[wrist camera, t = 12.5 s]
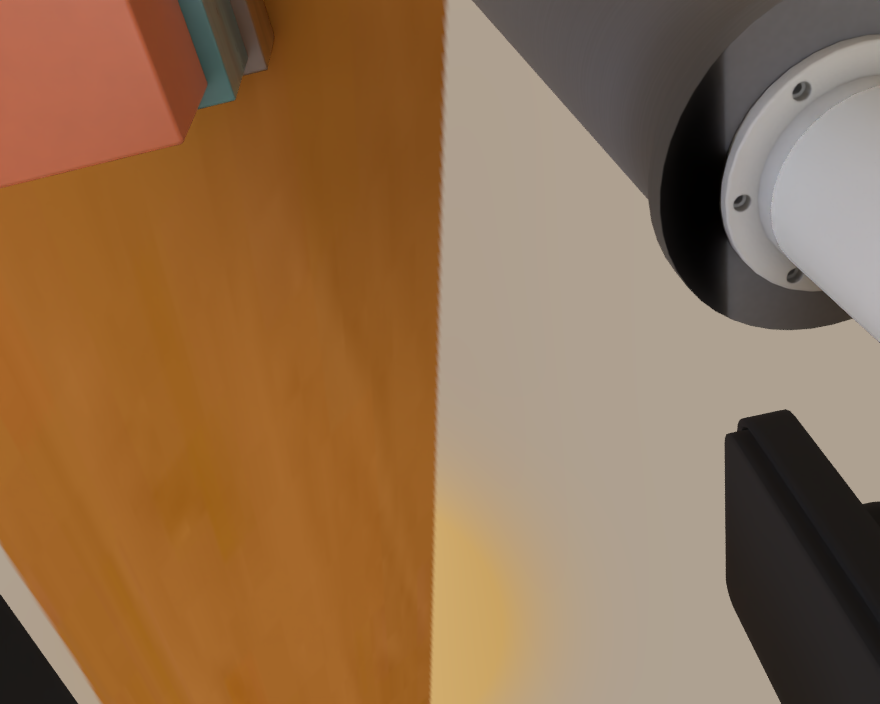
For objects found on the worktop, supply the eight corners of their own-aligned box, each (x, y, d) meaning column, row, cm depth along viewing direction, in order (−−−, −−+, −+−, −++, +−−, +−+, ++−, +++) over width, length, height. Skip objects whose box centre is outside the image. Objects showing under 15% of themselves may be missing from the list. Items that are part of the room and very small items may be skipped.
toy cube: (136, -118, 20) (88, -103, 16) (209, 86, 23) (184, 144, 19) (-63, -69, 20) (-164, -41, 16) (33, 129, 23) (-31, 196, 19)
